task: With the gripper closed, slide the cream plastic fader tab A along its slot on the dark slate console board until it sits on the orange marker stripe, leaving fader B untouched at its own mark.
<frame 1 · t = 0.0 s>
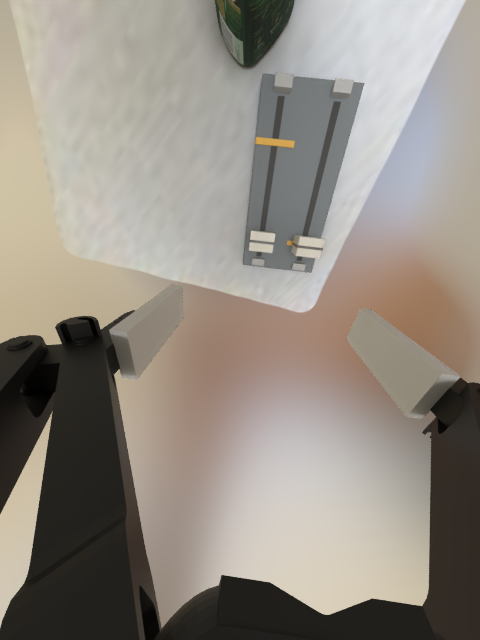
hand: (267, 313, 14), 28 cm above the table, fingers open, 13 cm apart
coffee jar: (254, 16, 25), on the table
console: (289, 193, 33), on the table
fader B: (306, 246, 33), point 5 cm above the table, slide at 0.0 cm
fader A: (261, 241, 33), point 5 cm above the table, slide at 0.0 cm
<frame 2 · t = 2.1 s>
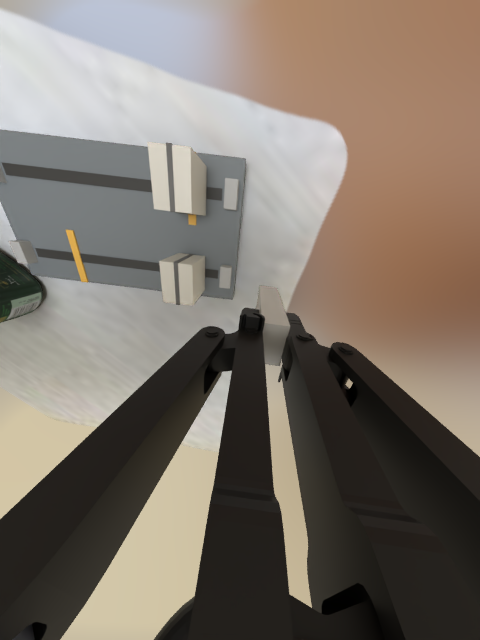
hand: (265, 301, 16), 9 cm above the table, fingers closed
coffee jar: (13, 279, 27), on the table
console: (131, 226, 22), on the table
fader B: (182, 186, 16), point 5 cm above the table, slide at 0.0 cm
fader A: (185, 277, 20), point 5 cm above the table, slide at 0.0 cm
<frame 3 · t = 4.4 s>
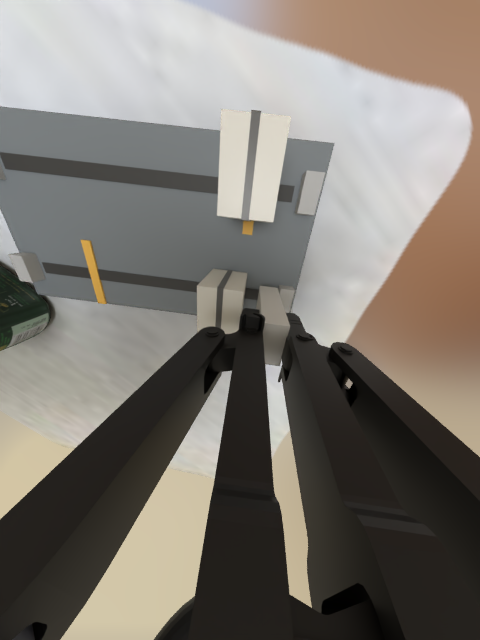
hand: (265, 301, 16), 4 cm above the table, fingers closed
coffee jar: (15, 297, 22), on the table
console: (162, 234, 17), on the table
fader B: (251, 181, 11), point 5 cm above the table, slide at 0.0 cm
fader A: (224, 302, 15), point 5 cm above the table, slide at 1.1 cm, touching gripper
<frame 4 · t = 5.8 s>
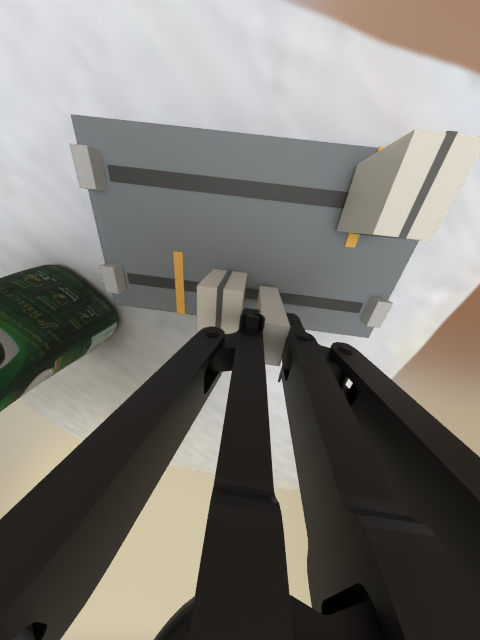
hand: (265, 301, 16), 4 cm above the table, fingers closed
coffee jar: (82, 306, 22), on the table
console: (249, 245, 17), on the table
fader B: (390, 197, 11), point 5 cm above the table, slide at 0.0 cm
fader A: (224, 302, 15), point 5 cm above the table, slide at 9.3 cm, touching gripper
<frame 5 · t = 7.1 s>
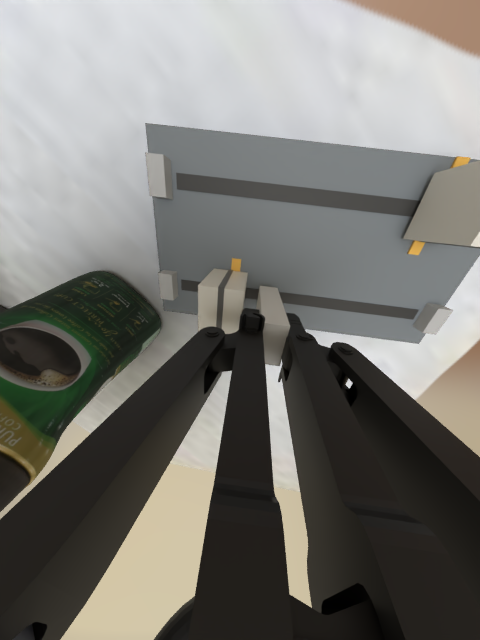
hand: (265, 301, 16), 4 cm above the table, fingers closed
coffee jar: (124, 311, 22), on the table
console: (303, 251, 17), on the table
fader B: (476, 208, 11), point 5 cm above the table, slide at 0.0 cm
fader A: (225, 302, 15), point 5 cm above the table, slide at 14.4 cm, touching gripper
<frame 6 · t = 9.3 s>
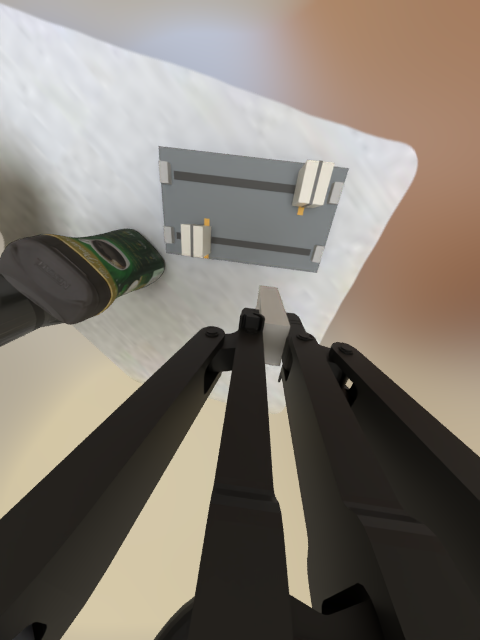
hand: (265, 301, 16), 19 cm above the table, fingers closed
coffee jar: (141, 258, 35), on the table
console: (246, 216, 30), on the table
fader B: (310, 187, 24), point 5 cm above the table, slide at 0.0 cm
fader A: (197, 240, 28), point 5 cm above the table, slide at 14.7 cm
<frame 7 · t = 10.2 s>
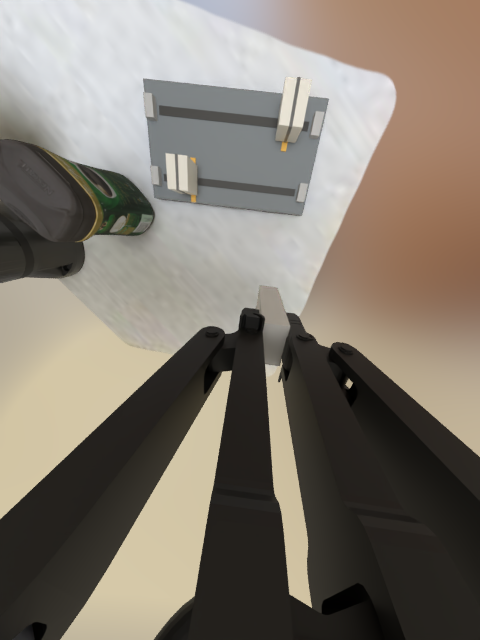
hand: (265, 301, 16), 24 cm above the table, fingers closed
coffee jar: (130, 207, 35), on the table
console: (232, 158, 31), on the table
fader B: (291, 114, 24), point 5 cm above the table, slide at 0.0 cm
fader A: (183, 176, 28), point 5 cm above the table, slide at 14.7 cm
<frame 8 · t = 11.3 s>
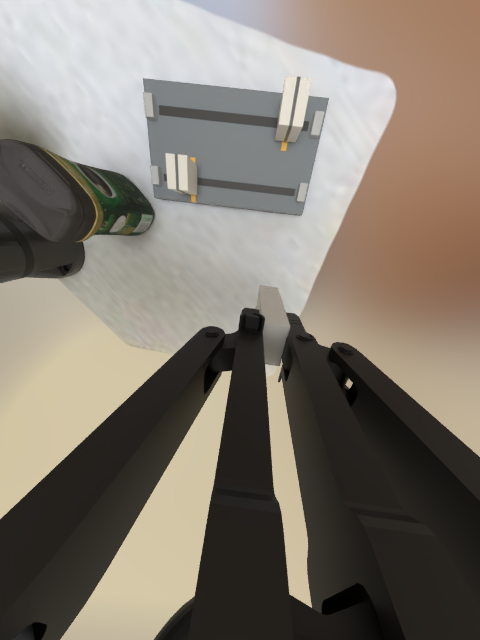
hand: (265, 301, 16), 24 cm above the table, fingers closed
coffee jar: (130, 207, 35), on the table
console: (232, 157, 31), on the table
fader B: (291, 113, 24), point 5 cm above the table, slide at 0.0 cm
fader A: (183, 176, 28), point 5 cm above the table, slide at 14.7 cm
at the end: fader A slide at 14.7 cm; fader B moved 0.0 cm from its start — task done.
